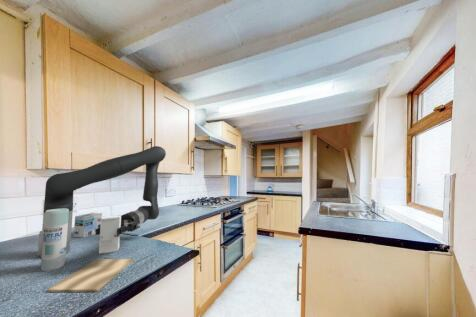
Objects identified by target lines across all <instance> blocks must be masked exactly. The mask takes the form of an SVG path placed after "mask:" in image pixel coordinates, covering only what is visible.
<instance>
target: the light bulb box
mask: <svg viewBox="0 0 476 317" xmlns="http://www.w3.org/2000/svg"><path fill="white" fill-rule="evenodd" d="M102 215H103V213H101V212H100V213H98V212H90V213H85V214H81V215H75V217H74V228H73V238H86V237H89V236H90V237H91V236H93V235H96V234H95V231H96V229H97V228H98V225H100V224H101V218H102V217H103V216H102Z"/></svg>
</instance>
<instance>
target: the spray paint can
mask: <svg viewBox="0 0 476 317" xmlns="http://www.w3.org/2000/svg"><path fill="white" fill-rule="evenodd" d="M68 218H69V209H66V208H62V209H51V210H46V212H45V218H44V232H43V246H42V257H41V264H40V270H41V271H42V272H49V271H54V270H57V269H60V268H62V267H64V266H65V263H66V255H67V253H66V242H67V230H68Z"/></svg>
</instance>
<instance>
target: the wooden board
mask: <svg viewBox="0 0 476 317" xmlns="http://www.w3.org/2000/svg"><path fill="white" fill-rule="evenodd" d="M134 261H135V259H134V258H97V259H95V260H93V261H92V262H90V263H88V264H87V265H85V266H83V267H82V268H80V269H78V270H77V271H75V272H73V273H72V274H70V275H69V276H67V277H65V278H64V279H62V280H61V281H59V282H56V283H55V284H54V285H52V286H50V287H49V288H47V290H46V292H47V293H52V292H53V293H54V292H55V293H56V292H57V293H58V292H59V293H66V292H67V293H69V292H71V293H73V292H74V293H77V292H78V293H92V292H93V293H95V292H96V293H97V292H98V291H100V290H101V289H102V288H104V286H106V285H107V284H108V283H109V282H111V280H113V279H114V278H115V277H116V276H117V275H119V274H120V273H121V272H122V271H123V270H124V269H126V268H127V267H129V265H131V264H132V263H133V262H134Z"/></svg>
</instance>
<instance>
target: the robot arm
mask: <svg viewBox="0 0 476 317" xmlns="http://www.w3.org/2000/svg"><path fill="white" fill-rule="evenodd" d="M166 155H167V153H166V150H165V148H163V147H161V146H159V145H157V146H156V145H155V146H152V147H149V148H146V149H144V150H142V151H138V152H134V153H130V154H129V153H128V154H125V155H121V156H117V157H114V158H110V159H106V160H104V161H100V162H98V163H95V164H93V165H90V166H88V167H85V168H82V169H78V170H73V171H68V172H63V173H55V174H53V175H51V176H49V177H48V179H47V180H46V182H45V190H44V202H43V214H42V224H41V225H42V227H41V231H39V232H38V244H37V245H38V246H37V257H40V258H42V246H43V232H44V218H45V212H46V210H51V209H62V208H66V209H69V218H68V230H67V242H66V254H68V253H69V252H70V251H71V241H72V230H73V229H72V228H73V216H74V215H73V211H74V191H77V190H79V189H81V188H83V187H86V186H89V185H92V184H95V183H99V182H104V181H107V180H111V179H113V178H114V179H115V178H117V177H120V176H123V175H125V174H126V175H127V174H128V173H131V172H133V171H134V170H136V169H139V168H140V167H142V166H145V178H144V186H143V194H142V200H143V201H145V202H149V204H150V205H141V206H138V208H137V209H136V210H132V211H129V212H127V213H124V214H122V215H121V227H120V228H118V229H117V235H120V236H121V235H122V234H123V233H129V232H130V233H131V232H135V231H136V230H138V229H139V228H141V225H142V224H144V223H146V222H147V221H149V220H156V219H157V218H158V217H159V214H160V208H159V205H158V204H159V202H158V192H159V179H158V170H159V165H160V163H161V162H162V161H163V160H164V159H165V158H166ZM100 225H101V224H100ZM100 225H98V228H97V229H96V231H95V234H94V235H97V236H100Z"/></svg>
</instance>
